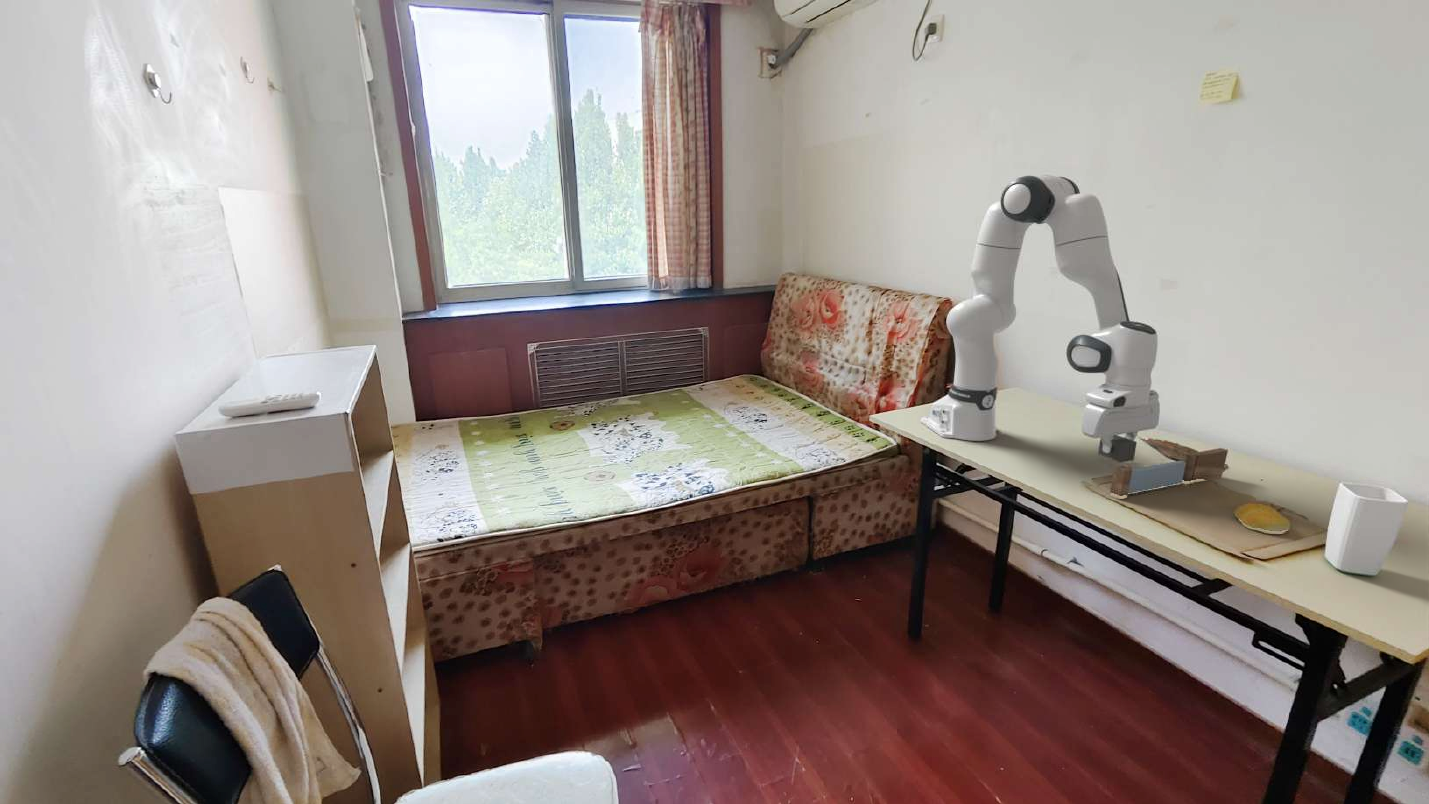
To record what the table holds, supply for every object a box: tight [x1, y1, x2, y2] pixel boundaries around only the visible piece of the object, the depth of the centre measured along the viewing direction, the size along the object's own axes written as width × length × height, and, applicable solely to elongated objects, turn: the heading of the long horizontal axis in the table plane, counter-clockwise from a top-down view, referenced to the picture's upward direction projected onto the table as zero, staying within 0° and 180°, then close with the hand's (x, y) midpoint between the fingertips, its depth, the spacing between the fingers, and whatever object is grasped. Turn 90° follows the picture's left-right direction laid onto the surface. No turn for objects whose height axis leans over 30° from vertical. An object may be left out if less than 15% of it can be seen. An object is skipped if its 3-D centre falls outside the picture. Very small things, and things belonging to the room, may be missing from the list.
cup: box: [1324, 482, 1410, 577], centre depth 112 cm, size 7×7×15 cm
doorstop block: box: [1097, 435, 1137, 463], centre depth 150 cm, size 6×4×4 cm, turn 19°
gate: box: [1128, 460, 1186, 493], centre depth 146 cm, size 1×17×6 cm, turn 109°
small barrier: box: [1109, 447, 1229, 496], centre depth 147 cm, size 2×33×7 cm, turn 109°
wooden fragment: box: [1141, 437, 1228, 472], centre depth 168 cm, size 26×11×1 cm, turn 4°
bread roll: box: [1234, 502, 1291, 531], centre depth 130 cm, size 8×9×4 cm
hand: (1116, 450), depth 151 cm, fingers closed on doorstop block, 4 cm apart
